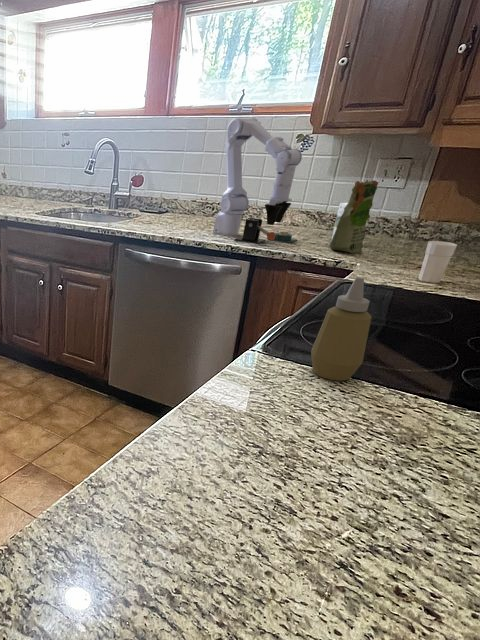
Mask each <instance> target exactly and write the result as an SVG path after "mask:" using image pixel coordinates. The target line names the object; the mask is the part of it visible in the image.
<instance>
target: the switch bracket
mask: <svg viewBox="0 0 480 640" xmlns="http://www.w3.org/2000/svg"><path fill="white" fill-rule="evenodd" d="M252 219H254V220H252ZM258 223H259V224H258ZM258 225H259V226H260V227H262V225H263V219H262V218H254V217H250V218H246V219H245V223H244V230H243V232H242V236H240V237H237V238H234V242H240V243H248V244H254V245H260V244H262V243H265V242H266V241H267V239H264V238H260V234H261V231H260V230H258V229H257V227H258Z"/></svg>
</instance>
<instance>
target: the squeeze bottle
mask: <svg viewBox="0 0 480 640" xmlns="http://www.w3.org/2000/svg"><path fill="white" fill-rule="evenodd" d="M364 288H365V278H364V277H361V276H356V277H355V278H354V280H353V282H352V283H351V285H350V287H349V289H348V290H347V292H346V293H345V294H341V295H338V296H337V299H336V303H335V306H332V307H330V308H328V309H327V312H326V314H325V316H324V318H323V321H322V324H321V326H320V329H319V331H318V333H317V335H316V339H315V341H314V343H313V346H312V348H311V351H310V356H311V366H312V367H311V368H312V372H313V373H314V374H315V375H317V376H318V377H320V378H324V379H327V380H332V381H339V382H345V381H348V380H350V379H351V378H352V377H353V375H354V374H355V373H356V371H358V370H359V368H360V367H361V366H362V365H363V363H364V358H365V353H366V347H367V342H368V337H369V333H370V326H371V322H372V315H371V314H370V312H368V309H369V305H370V300H369V299H367V298H365V297H364V290H365V289H364Z"/></svg>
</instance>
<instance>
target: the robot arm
mask: <svg viewBox="0 0 480 640" xmlns="http://www.w3.org/2000/svg"><path fill="white" fill-rule="evenodd" d="M226 132H227V133H226V134H227V138H226V142H225V158H226V161H225V162H226V190H225V191H224V192H223V193H222V194H221V200H220V205H219V207H220V212H217V214H216V216H215V219H214V224H213V230H212V234H214V235H215V234H216V235H221V236H230V237H236V236H239V233H240V227H241V222H242V217H243V215H244V214H245V211H247V210H248V208H249V205H250V200H249V198H248V192H247V191H246V190H245V189H244V188H243V168H242V167H243V165H242V146H243V145H244V144H245V143H246V142H248V141H249V140H250V139H251V138H252V137H254V138H255V139H256V140H258V141H259V142H260V143H261V144H263V145H264V146H265V147H264V150H265V151H266V152H267V153H268V155H270V156H271V157H272V158H273V159H275V164H276V167H275V170H276V174H275V177H274V181H273V182H274V183H273V187H272V191H271V196H270V198H269V202H268V203H265V204H264V209H265V211H266V212H265V213H266V225H268V226H274V225H275V223H281V222H282V221H283V218H284V216H285V214H286V213H287V211H288V209H289V208H290V207H291V205H292V203H291V202H292V200H293V199H292V198H291V197H290V193H291V189H292V186H293V181H294V177H295V172H296V168H297V166H299V164H301V161H302V158H303V156H302V153H301V151H300V149H298V148H295V149H294V148H292V145H291V144H287V143H286V142H285V141H284V138H283V137H282V136H275V137H274V136H273V135H271V133H270V132H269V131H268V130H267V129H266V128H265V127H264V126H263V125H262V122H261V121H259V120H258V119H257V118H254V117H251V118H249V117H248V118H247V117H246V118H243V117H241V118H240V117H235V118H233V119H231V121H230V123H229V124H228V125H227V127H226Z"/></svg>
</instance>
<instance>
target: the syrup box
mask: <svg viewBox="0 0 480 640" xmlns="http://www.w3.org/2000/svg"><path fill="white" fill-rule="evenodd" d="M347 204H348V202H340V203H339V206H338V210H337V214H336V218H335V221H334V225H333V229H332V232H331V237H330V240H331V241H332V239H333V236H334V234H335V231H336V228H337V224H338V222H339V219H340V217H341V216H342V214H343V212H344V208H345V207H346V205H347Z"/></svg>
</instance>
